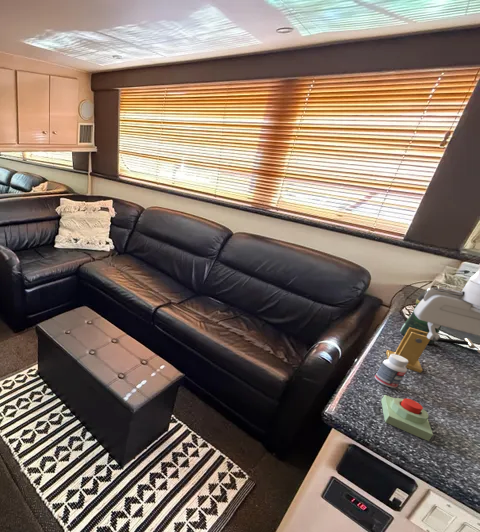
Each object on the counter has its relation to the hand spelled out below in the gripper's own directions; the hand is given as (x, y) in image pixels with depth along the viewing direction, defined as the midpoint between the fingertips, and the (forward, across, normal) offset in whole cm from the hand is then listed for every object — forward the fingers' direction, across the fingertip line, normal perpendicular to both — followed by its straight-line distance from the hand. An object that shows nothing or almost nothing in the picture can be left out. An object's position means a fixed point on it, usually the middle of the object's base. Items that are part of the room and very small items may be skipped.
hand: (456, 346), depth 80 cm
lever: (+10, +9, +25) cm, 28 cm away
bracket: (+20, +4, +26) cm, 33 cm away
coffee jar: (+20, +14, +53) cm, 58 cm away
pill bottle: (+20, -5, +8) cm, 22 cm away
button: (+16, -5, -9) cm, 19 cm away
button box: (+20, -5, -9) cm, 23 cm away
